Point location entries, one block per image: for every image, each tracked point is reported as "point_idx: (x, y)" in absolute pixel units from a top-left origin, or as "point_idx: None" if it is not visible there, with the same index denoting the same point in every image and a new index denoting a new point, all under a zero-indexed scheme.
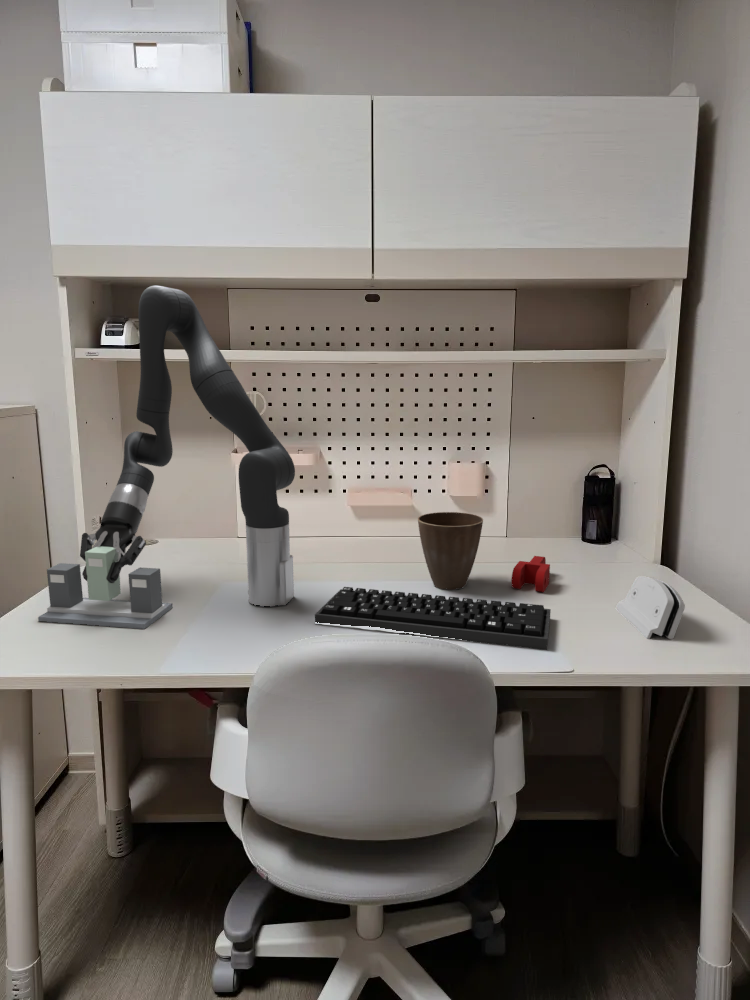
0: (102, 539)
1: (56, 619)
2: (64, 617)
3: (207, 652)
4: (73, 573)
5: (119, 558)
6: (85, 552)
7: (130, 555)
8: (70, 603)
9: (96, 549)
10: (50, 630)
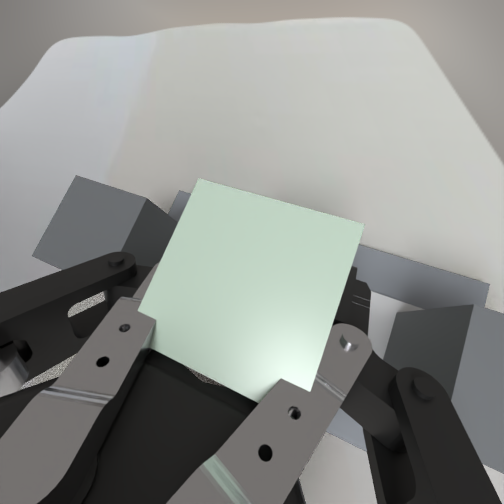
0: (233, 471)
1: (417, 263)
2: (394, 264)
3: (88, 91)
4: (440, 361)
5: (153, 268)
6: (359, 224)
7: (85, 266)
8: (400, 314)
9: (284, 299)
10: (409, 214)
